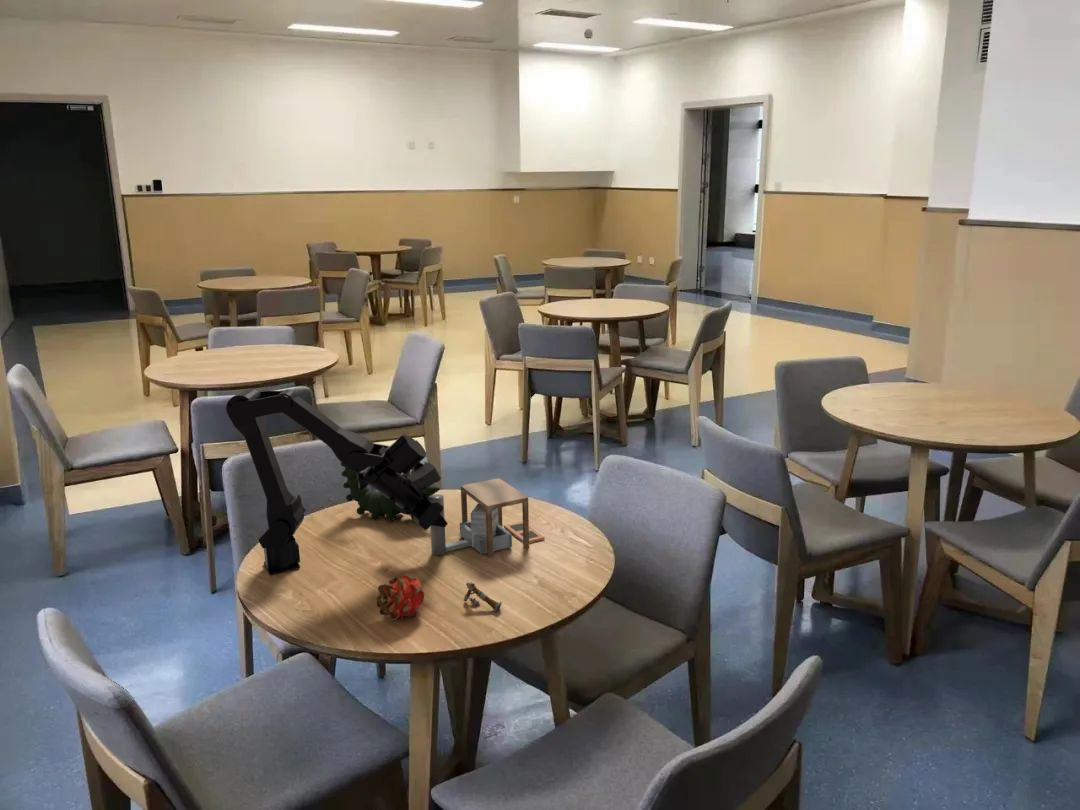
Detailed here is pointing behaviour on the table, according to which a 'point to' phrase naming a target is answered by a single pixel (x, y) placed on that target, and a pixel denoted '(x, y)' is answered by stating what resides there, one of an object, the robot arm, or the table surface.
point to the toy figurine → (374, 498)
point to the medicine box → (482, 522)
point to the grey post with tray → (466, 536)
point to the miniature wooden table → (495, 505)
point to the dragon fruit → (400, 597)
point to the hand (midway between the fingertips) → (443, 522)
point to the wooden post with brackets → (481, 595)
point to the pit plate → (518, 532)
